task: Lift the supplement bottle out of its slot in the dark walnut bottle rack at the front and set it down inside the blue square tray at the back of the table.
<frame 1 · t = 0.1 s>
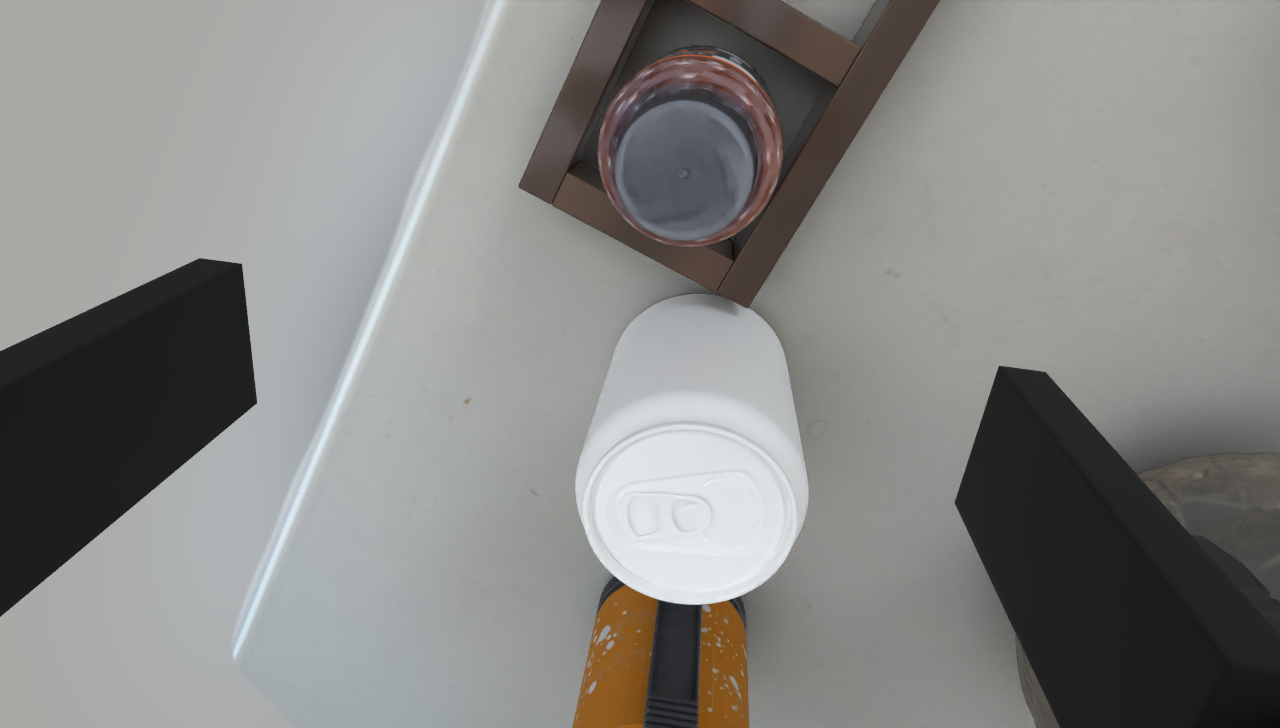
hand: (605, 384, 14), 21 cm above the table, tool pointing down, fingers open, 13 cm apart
canister: (674, 593, 43), on the table
bowl: (1167, 551, 39), on the table
rack: (756, 15, 31), on the table
beverage can: (699, 368, 37), on the table
supplement bottle: (699, 121, 33), resting in rack
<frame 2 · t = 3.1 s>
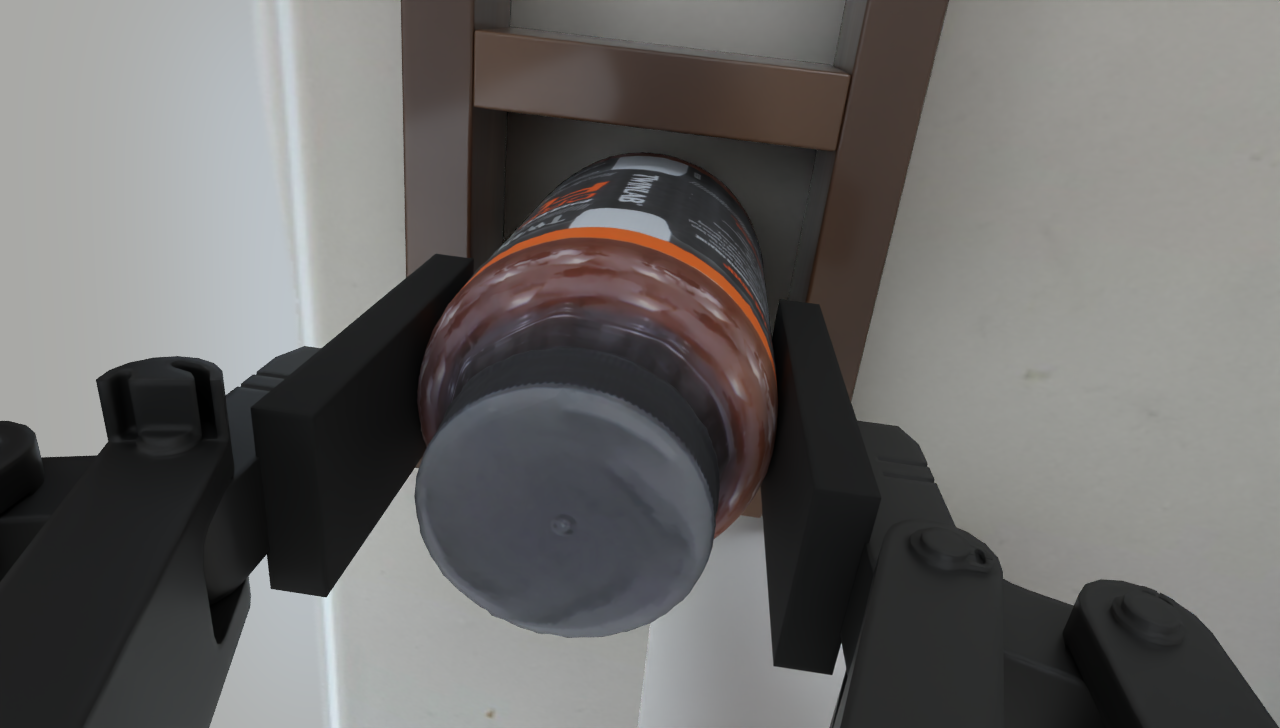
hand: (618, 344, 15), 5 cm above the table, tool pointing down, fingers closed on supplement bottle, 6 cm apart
rack: (666, 79, 19), on the table
beverage can: (786, 589, 24), on the table
supplement bottle: (645, 262, 21), resting in rack, touching gripper
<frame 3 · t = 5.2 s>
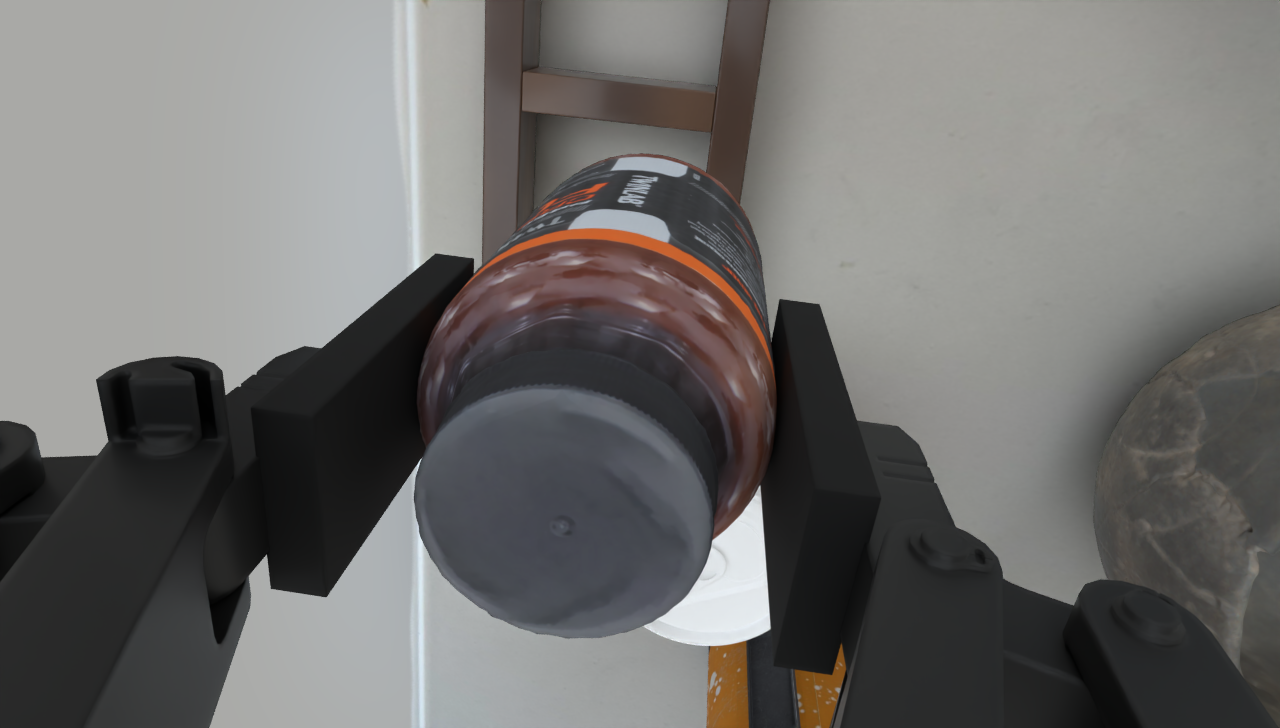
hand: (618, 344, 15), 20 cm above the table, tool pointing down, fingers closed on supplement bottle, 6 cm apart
canister: (777, 619, 44), on the table
bowl: (1247, 425, 36), on the table
rack: (626, 95, 33), on the table
beverage can: (710, 411, 39), on the table
supplement bottle: (644, 263, 21), point 15 cm above the table, touching gripper
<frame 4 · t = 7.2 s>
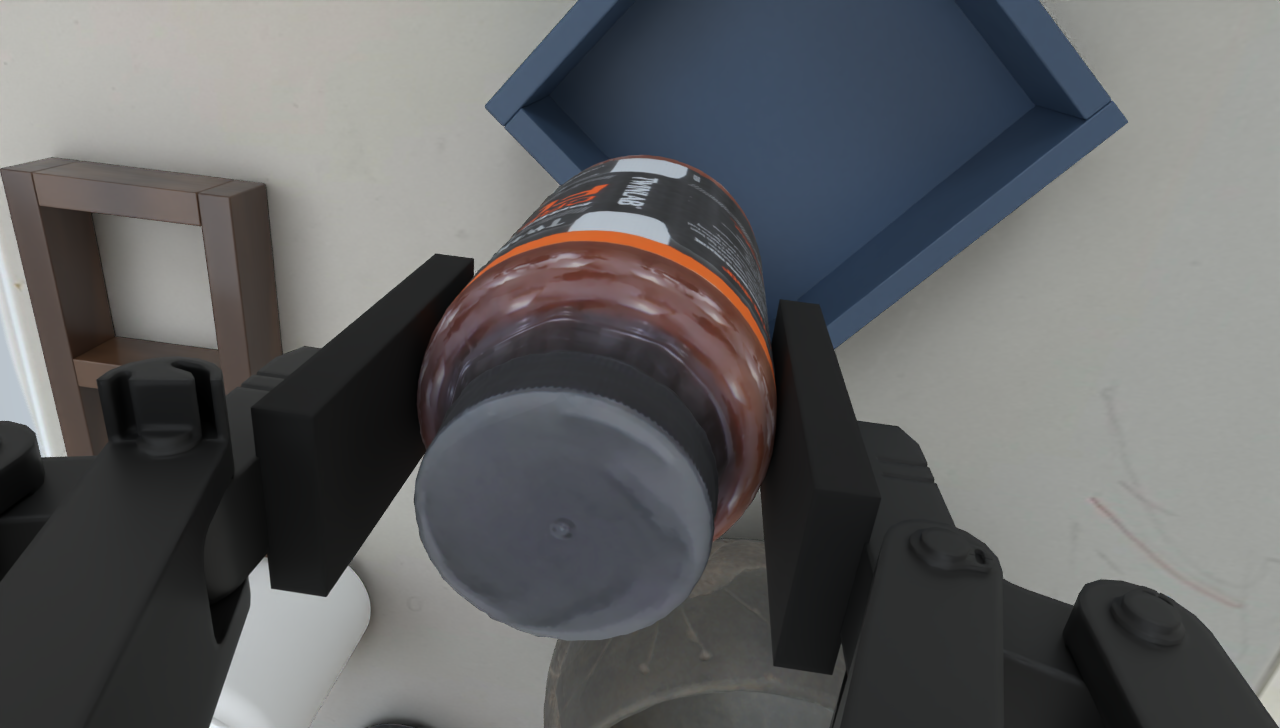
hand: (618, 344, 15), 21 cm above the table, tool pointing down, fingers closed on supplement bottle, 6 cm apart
blue square tray: (784, 98, 33), on the table
bowl: (729, 610, 45), on the table
rack: (187, 358, 41), on the table
beverage can: (310, 588, 47), on the table
supplement bottle: (644, 264, 21), point 15 cm above the table, touching gripper
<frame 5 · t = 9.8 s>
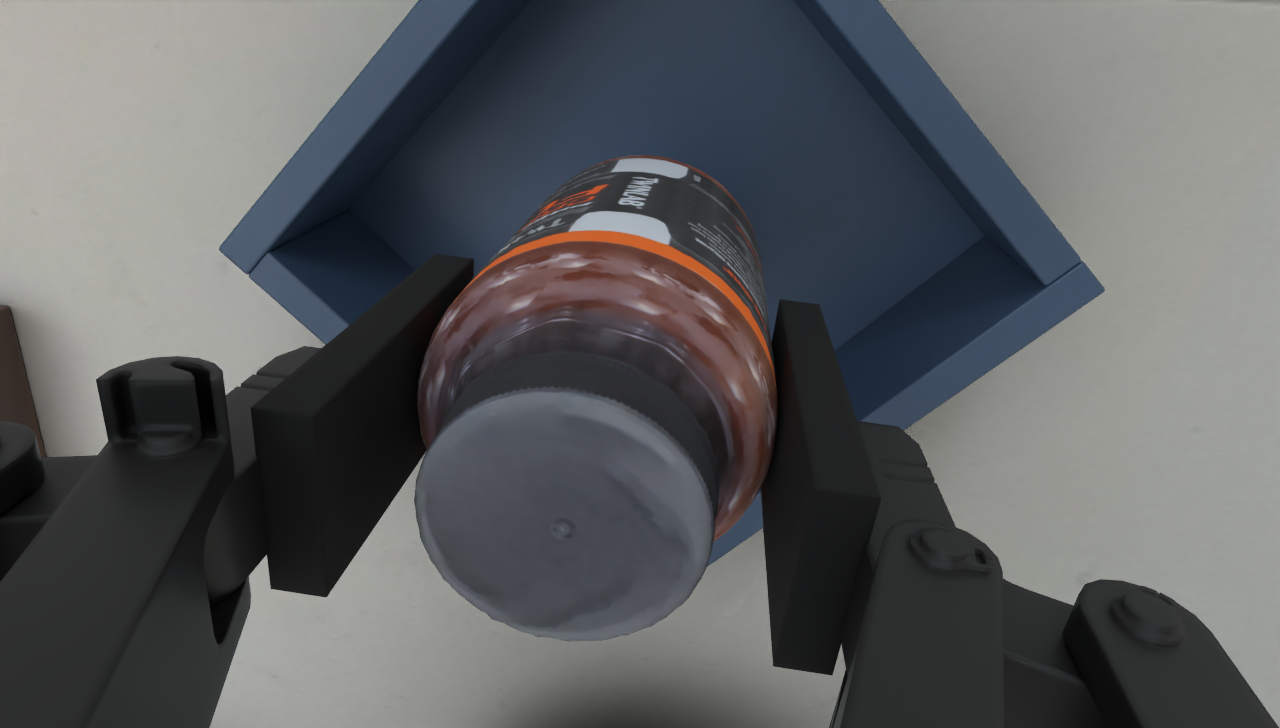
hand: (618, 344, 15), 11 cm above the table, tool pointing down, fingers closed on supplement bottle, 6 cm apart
blue square tray: (657, 217, 25), on the table
supplement bottle: (644, 264, 21), point 5 cm above the table, touching gripper
when the fingers open (6 cm above the table, at t = 11.3 s): supplement bottle stays where it is, resting on blue square tray.
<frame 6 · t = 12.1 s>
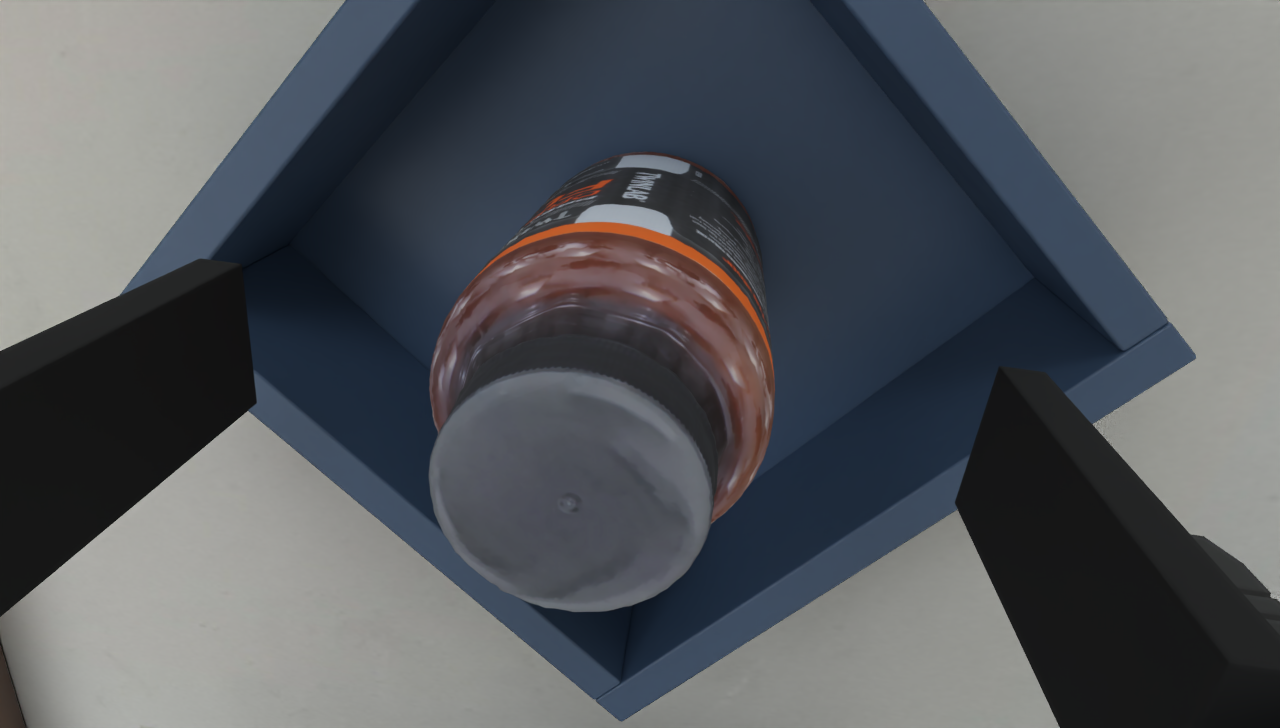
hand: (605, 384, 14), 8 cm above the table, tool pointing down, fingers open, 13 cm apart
blue square tray: (649, 253, 21), on the table
supplement bottle: (647, 258, 21), resting on blue square tray
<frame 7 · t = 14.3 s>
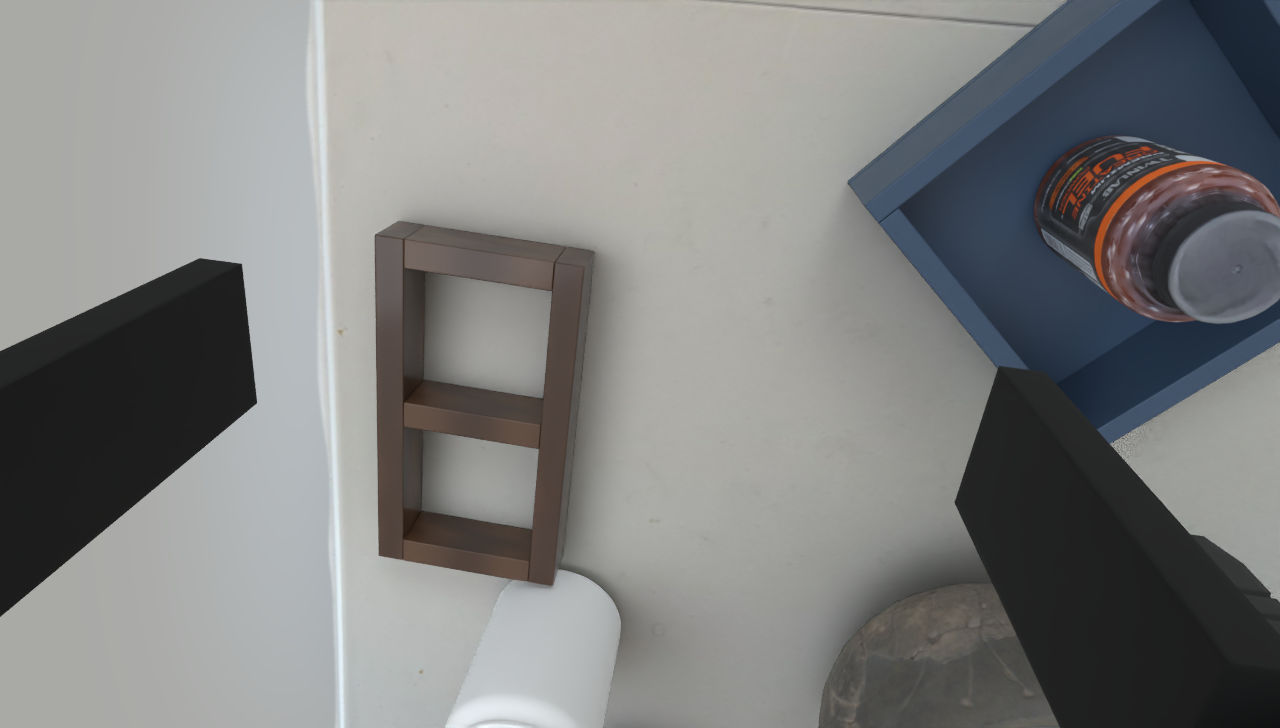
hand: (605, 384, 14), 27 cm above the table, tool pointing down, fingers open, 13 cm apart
blue square tray: (1091, 195, 37), on the table
bowl: (958, 645, 48), on the table
rack: (487, 401, 45), on the table
beverage can: (560, 611, 51), on the table
supplement bottle: (1094, 198, 37), resting on blue square tray
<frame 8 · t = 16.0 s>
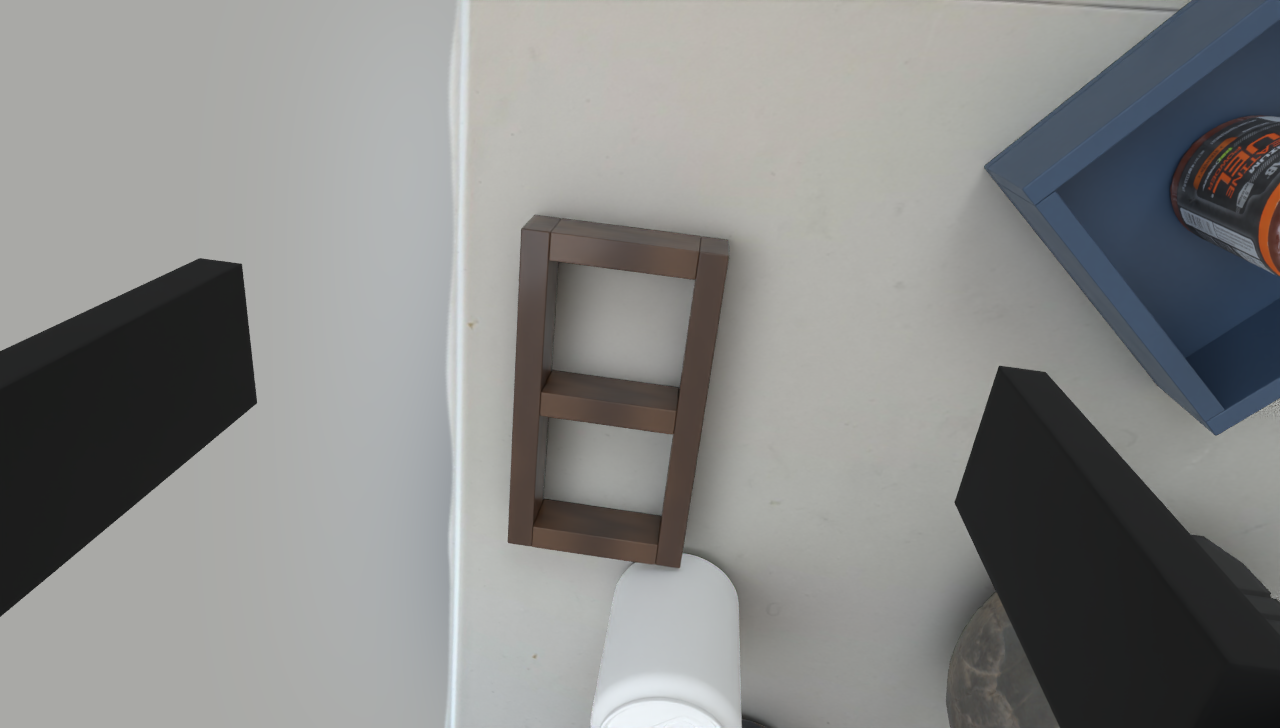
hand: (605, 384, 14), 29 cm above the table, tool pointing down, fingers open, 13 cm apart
blue square tray: (1224, 174, 38), on the table
bowl: (1070, 617, 50), on the table
rack: (614, 389, 46), on the table
beverage can: (676, 594, 52), on the table
supplement bottle: (1229, 177, 38), resting on blue square tray
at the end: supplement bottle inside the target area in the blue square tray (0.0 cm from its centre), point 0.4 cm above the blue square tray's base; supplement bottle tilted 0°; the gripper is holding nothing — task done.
